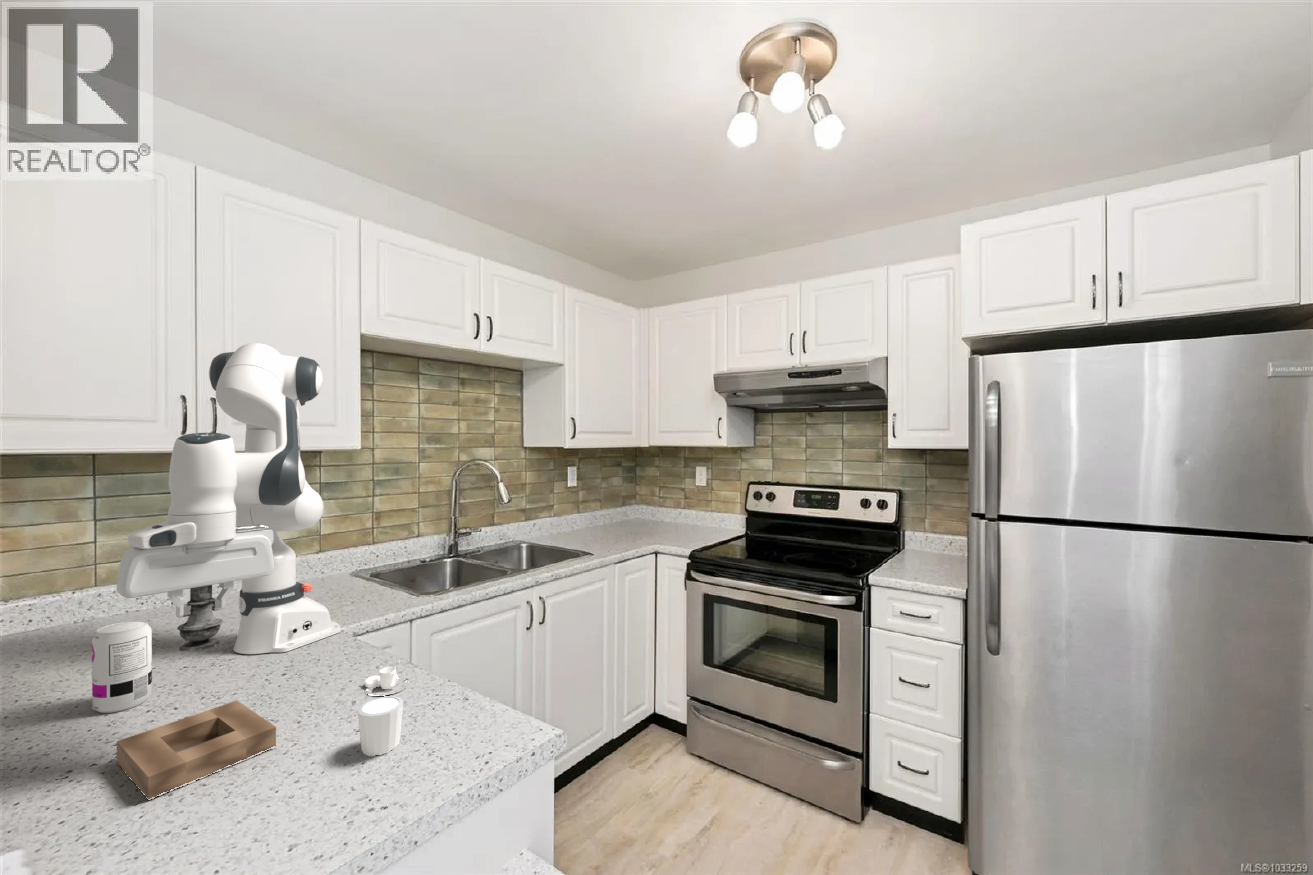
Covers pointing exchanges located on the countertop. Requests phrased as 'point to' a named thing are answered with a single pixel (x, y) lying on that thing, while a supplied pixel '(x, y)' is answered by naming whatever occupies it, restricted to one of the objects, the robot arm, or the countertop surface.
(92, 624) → the countertop surface
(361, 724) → the white cylinder
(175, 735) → the holder
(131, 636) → the supplement can
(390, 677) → the teacup and saucer
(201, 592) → the grey tall rounded piece
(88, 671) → the countertop surface
